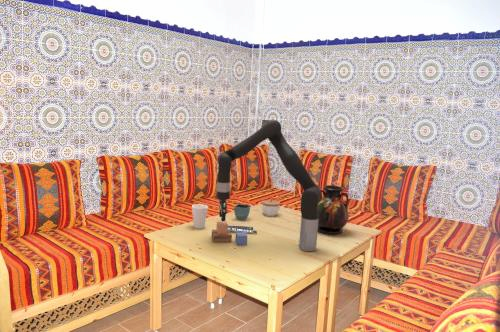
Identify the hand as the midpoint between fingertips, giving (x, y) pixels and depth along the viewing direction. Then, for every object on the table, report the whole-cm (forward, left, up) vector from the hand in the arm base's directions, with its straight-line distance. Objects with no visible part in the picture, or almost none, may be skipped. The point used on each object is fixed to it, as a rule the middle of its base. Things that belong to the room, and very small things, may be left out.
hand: (222, 218), depth 217 cm
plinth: (0, 0, -12) cm, 12 cm away
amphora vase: (+12, -69, -12) cm, 71 cm away
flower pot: (+38, -18, -12) cm, 44 cm away
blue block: (-7, -10, -12) cm, 17 cm away
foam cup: (+22, +11, -12) cm, 28 cm away
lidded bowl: (+48, -40, -12) cm, 64 cm away
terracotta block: (0, 0, -8) cm, 8 cm away
